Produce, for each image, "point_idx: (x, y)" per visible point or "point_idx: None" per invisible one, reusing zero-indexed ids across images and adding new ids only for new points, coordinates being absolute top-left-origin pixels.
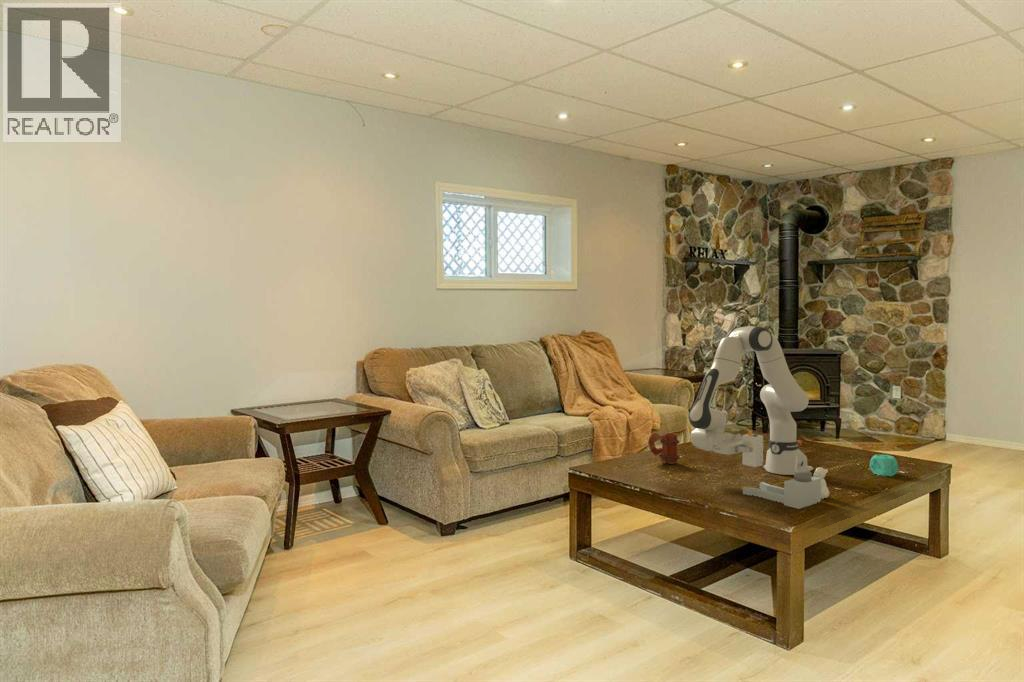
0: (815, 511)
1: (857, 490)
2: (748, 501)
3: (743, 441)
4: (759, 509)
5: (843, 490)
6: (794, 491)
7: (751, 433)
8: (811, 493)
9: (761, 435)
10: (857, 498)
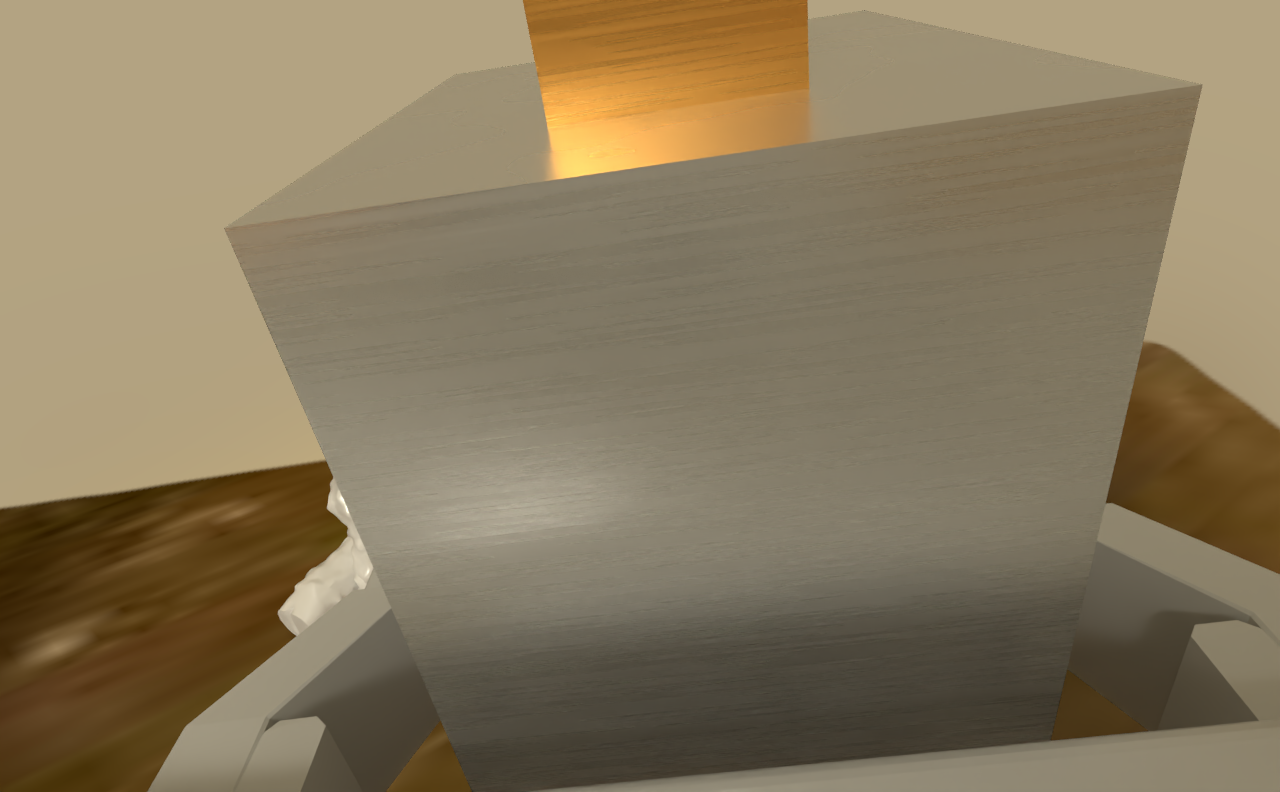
0: None
1: (81, 556)
2: None
3: (1070, 461)
4: None
5: (117, 592)
6: None
7: (602, 24)
8: None
9: (467, 77)
10: (306, 472)
